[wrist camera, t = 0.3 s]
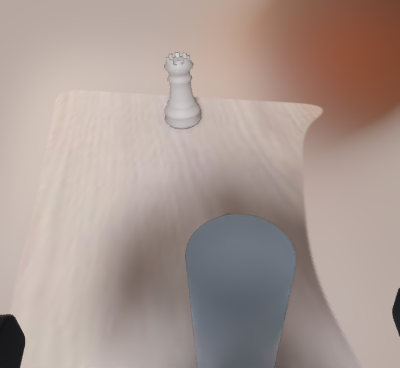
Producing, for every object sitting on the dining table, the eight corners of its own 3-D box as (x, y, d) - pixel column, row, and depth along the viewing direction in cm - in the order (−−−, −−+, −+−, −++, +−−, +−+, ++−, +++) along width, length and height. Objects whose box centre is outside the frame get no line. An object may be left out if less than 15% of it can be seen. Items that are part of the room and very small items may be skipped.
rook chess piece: (167, 110, 48) (160, 48, 42) (202, 111, 47) (200, 48, 42) (162, 130, 44) (154, 65, 39) (200, 130, 44) (196, 65, 39)
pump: (277, 412, 22) (308, 299, 14) (199, 417, 22) (186, 306, 14) (260, 313, 26) (276, 185, 18) (196, 316, 26) (184, 190, 18)
